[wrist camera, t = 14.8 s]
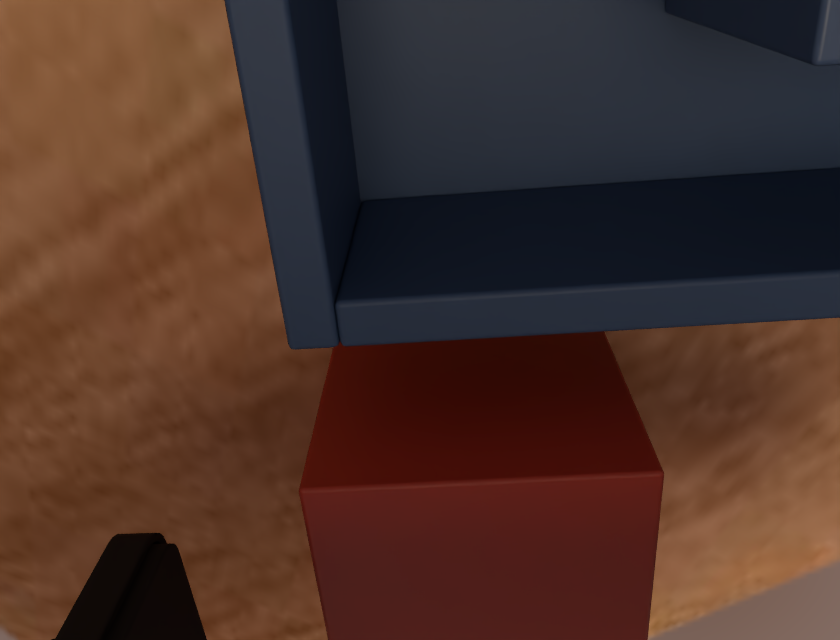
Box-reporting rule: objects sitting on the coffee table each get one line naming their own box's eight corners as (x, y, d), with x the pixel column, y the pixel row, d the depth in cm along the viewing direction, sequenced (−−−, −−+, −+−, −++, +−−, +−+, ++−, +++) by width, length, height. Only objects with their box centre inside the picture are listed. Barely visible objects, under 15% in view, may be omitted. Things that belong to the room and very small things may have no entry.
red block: (366, 511, 15) (342, 718, 11) (338, 320, 13) (297, 490, 9) (586, 501, 15) (642, 709, 11) (594, 304, 13) (666, 472, 9)
